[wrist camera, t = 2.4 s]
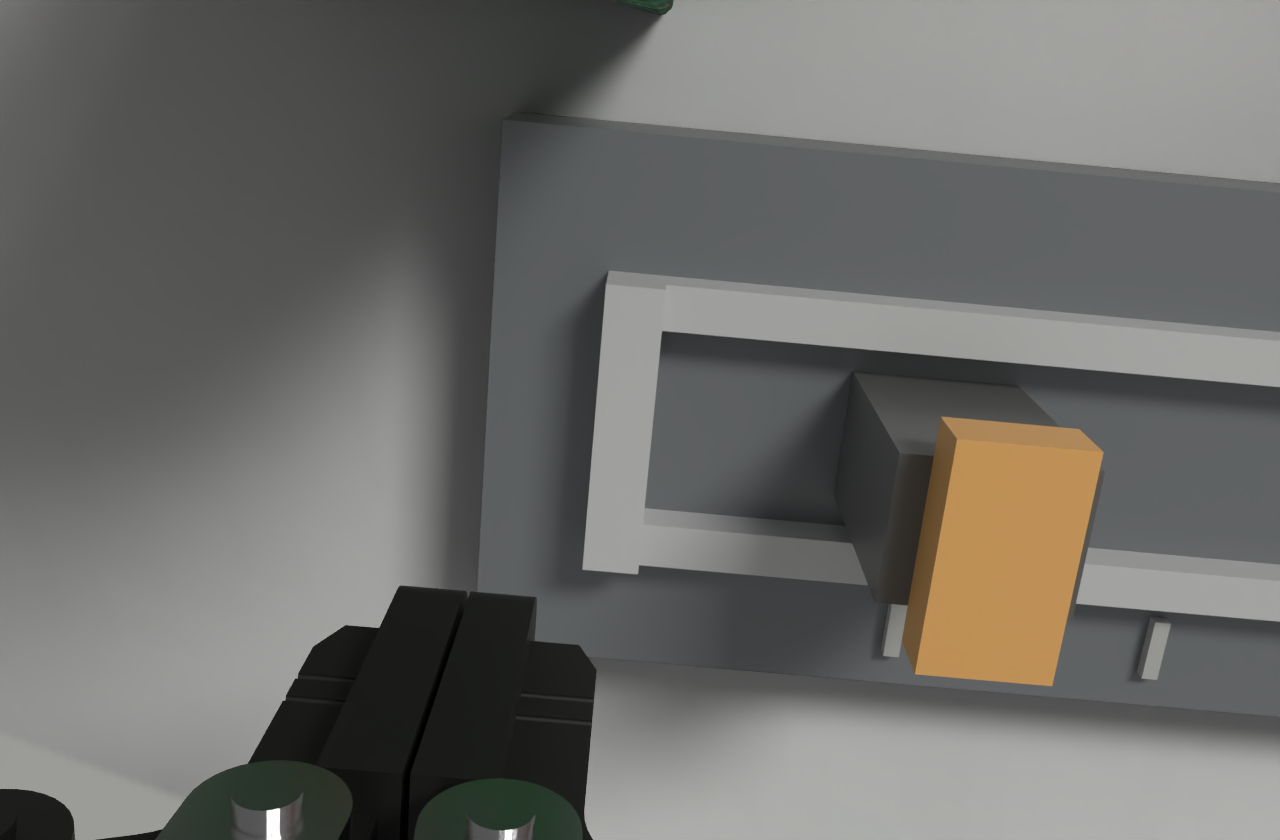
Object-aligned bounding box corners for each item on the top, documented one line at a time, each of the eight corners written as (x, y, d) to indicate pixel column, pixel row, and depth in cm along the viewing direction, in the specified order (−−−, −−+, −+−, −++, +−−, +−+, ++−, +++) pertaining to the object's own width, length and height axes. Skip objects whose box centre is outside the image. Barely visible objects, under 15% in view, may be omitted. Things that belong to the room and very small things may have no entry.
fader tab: (857, 338, 22) (920, 435, 16) (1025, 353, 22) (1139, 455, 16) (829, 525, 23) (880, 671, 18) (989, 539, 23) (1086, 689, 18)
